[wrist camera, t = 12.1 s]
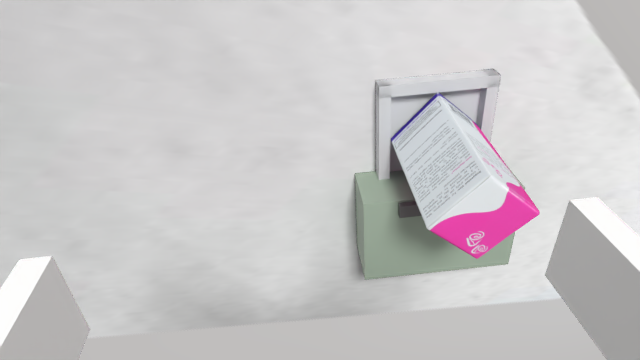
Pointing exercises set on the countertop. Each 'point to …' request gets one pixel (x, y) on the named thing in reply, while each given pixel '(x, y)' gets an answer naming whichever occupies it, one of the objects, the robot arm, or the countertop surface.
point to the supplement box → (460, 179)
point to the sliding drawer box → (394, 191)
